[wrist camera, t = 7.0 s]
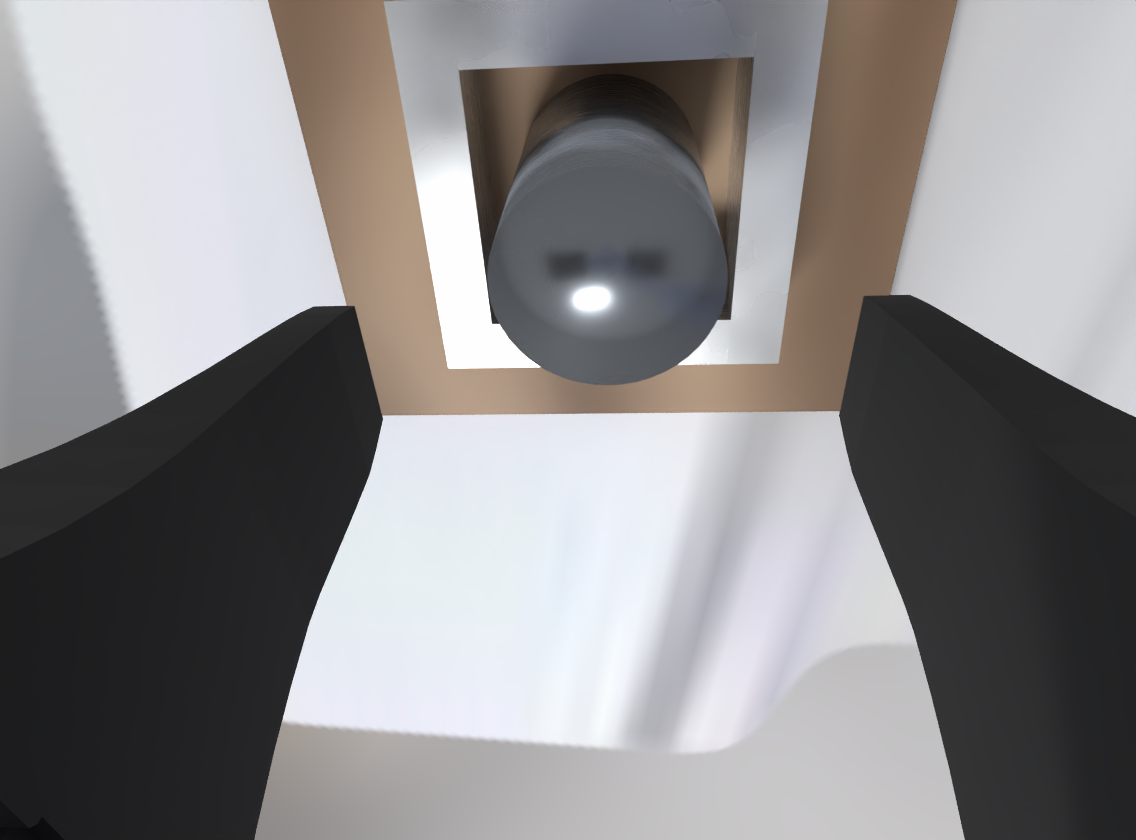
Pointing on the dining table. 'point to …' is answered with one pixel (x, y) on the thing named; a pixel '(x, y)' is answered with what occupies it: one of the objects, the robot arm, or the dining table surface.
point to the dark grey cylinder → (608, 237)
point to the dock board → (706, 96)
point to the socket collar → (598, 36)
